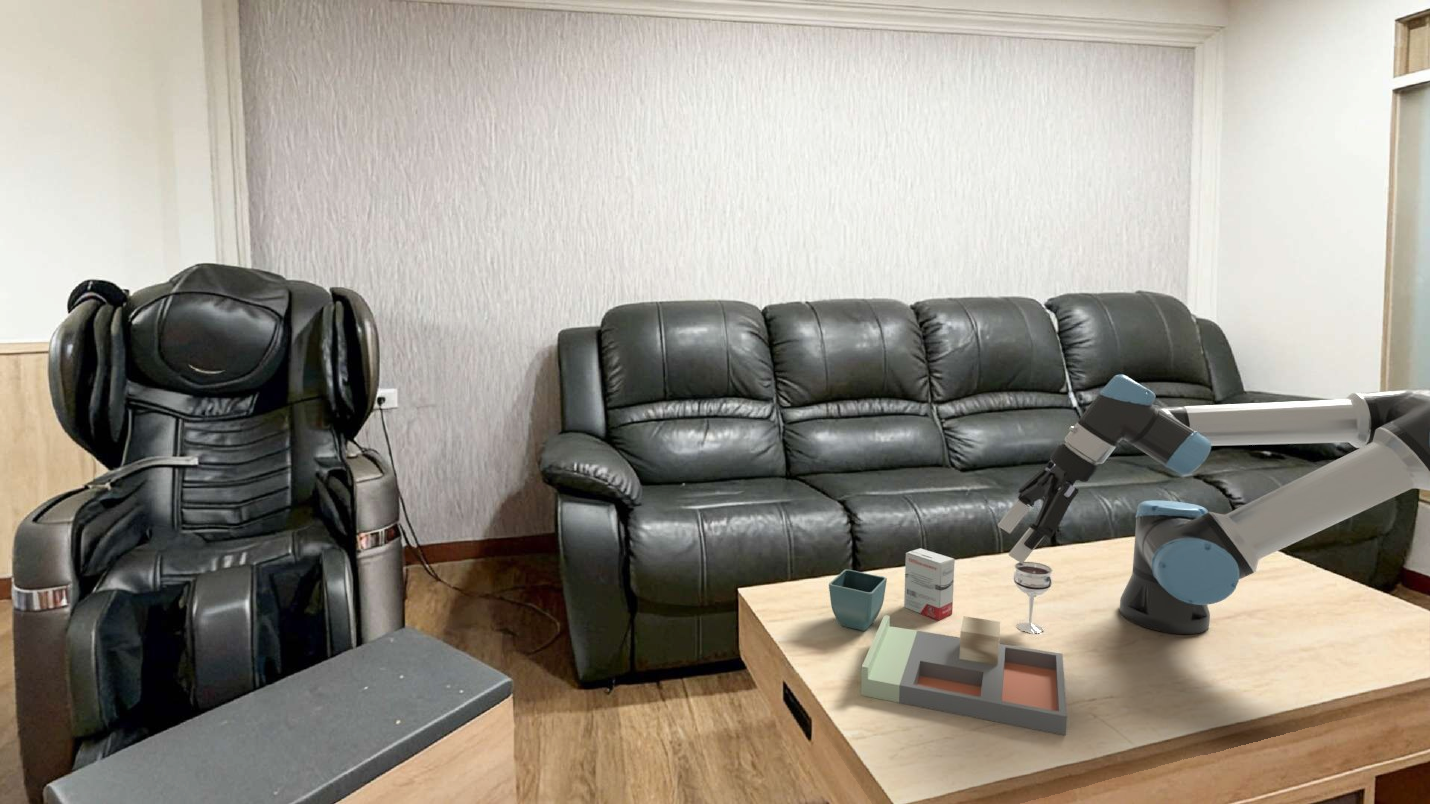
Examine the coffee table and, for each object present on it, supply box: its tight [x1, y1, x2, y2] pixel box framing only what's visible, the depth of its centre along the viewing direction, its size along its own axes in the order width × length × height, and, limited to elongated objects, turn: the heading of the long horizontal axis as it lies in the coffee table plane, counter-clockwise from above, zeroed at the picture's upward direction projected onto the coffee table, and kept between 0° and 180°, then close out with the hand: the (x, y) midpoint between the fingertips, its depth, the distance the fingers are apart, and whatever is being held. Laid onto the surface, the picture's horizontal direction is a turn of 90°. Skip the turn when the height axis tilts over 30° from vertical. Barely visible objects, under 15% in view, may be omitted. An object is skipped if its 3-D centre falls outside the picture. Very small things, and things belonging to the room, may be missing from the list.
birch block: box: [959, 616, 1001, 665], centre depth 128 cm, size 6×6×5 cm
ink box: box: [903, 547, 956, 621], centre depth 152 cm, size 8×5×12 cm, turn 39°
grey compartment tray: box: [860, 614, 1068, 736], centre depth 125 cm, size 30×20×5 cm, turn 67°
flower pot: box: [828, 569, 888, 632], centre depth 146 cm, size 9×9×9 cm
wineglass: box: [1013, 561, 1053, 635], centre depth 143 cm, size 7×7×12 cm
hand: (1009, 543), depth 142 cm, fingers open, 13 cm apart
